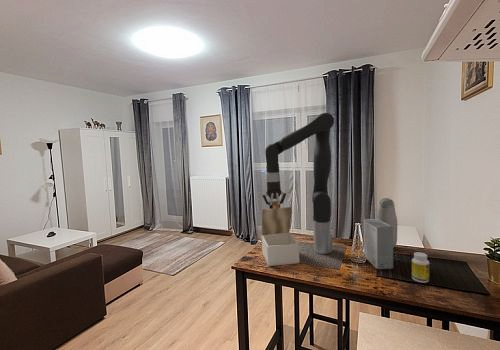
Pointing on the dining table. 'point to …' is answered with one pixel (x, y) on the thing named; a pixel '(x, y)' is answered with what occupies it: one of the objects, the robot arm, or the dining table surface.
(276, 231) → the flap
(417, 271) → the pill bottle
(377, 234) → the hard drive box
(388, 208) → the grey bottle
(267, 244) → the carton
